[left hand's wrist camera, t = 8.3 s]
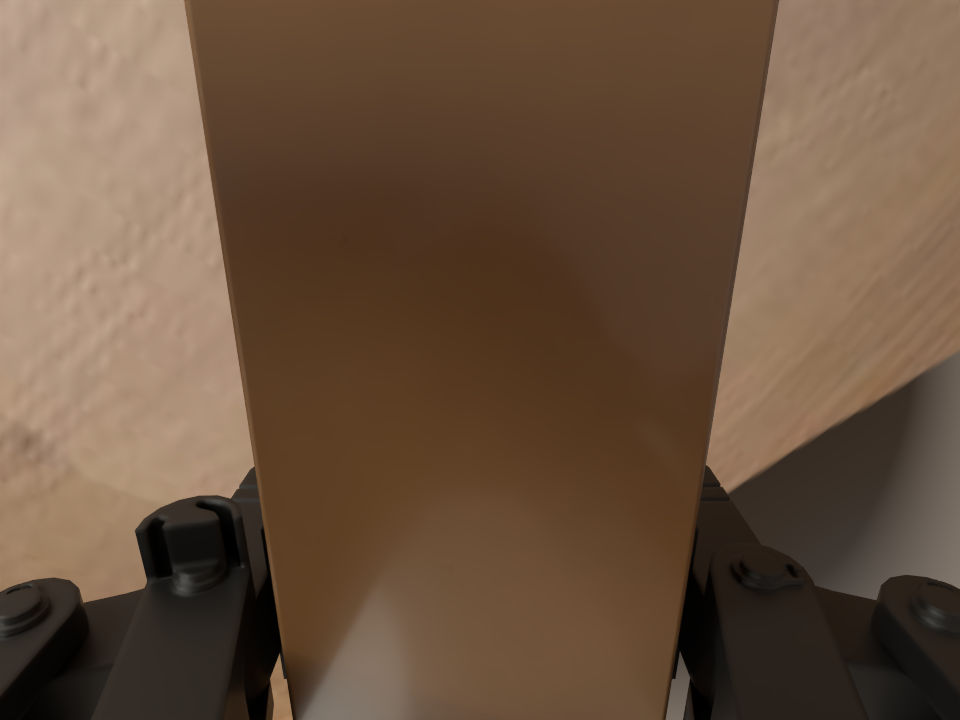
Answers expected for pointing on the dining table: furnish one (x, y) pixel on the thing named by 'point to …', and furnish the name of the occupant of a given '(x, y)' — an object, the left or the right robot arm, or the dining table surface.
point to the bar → (480, 332)
